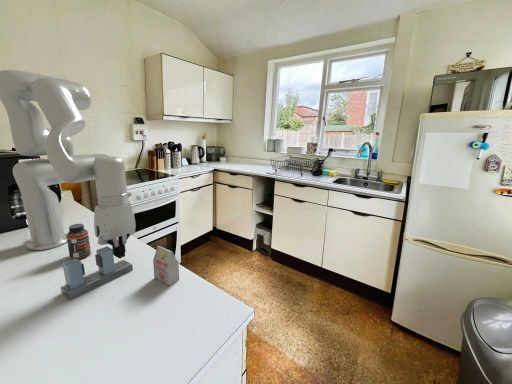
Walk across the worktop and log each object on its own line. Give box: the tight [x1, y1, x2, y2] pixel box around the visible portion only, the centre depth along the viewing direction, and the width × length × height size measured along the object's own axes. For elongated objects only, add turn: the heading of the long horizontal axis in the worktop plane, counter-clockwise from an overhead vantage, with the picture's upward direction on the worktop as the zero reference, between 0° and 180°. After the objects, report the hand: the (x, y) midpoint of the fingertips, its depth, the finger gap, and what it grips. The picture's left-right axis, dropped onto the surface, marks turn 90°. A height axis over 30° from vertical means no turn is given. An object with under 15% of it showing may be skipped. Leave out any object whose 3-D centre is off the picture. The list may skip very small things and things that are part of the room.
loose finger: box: [94, 246, 115, 275], centre depth 70 cm, size 3×4×7 cm
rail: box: [60, 258, 134, 301], centre depth 69 cm, size 5×17×9 cm, turn 149°
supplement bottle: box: [66, 223, 92, 260], centre depth 81 cm, size 6×6×11 cm
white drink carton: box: [152, 245, 180, 287], centre depth 71 cm, size 4×7×10 cm, turn 58°
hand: (119, 256), depth 74 cm, fingers closed
